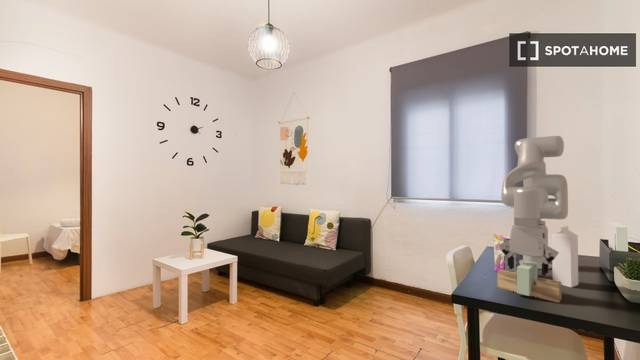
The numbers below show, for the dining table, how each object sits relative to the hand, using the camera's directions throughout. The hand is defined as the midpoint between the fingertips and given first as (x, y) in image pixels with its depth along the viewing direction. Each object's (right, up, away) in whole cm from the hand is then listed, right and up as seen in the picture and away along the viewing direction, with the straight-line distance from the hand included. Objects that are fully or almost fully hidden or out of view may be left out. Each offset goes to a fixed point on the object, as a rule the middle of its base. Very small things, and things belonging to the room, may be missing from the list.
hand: (527, 271), depth 103 cm
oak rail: (0, -8, 0) cm, 8 cm away
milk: (+21, -8, +9) cm, 24 cm away
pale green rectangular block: (0, -7, 0) cm, 7 cm away
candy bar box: (+5, -8, +20) cm, 22 cm away
